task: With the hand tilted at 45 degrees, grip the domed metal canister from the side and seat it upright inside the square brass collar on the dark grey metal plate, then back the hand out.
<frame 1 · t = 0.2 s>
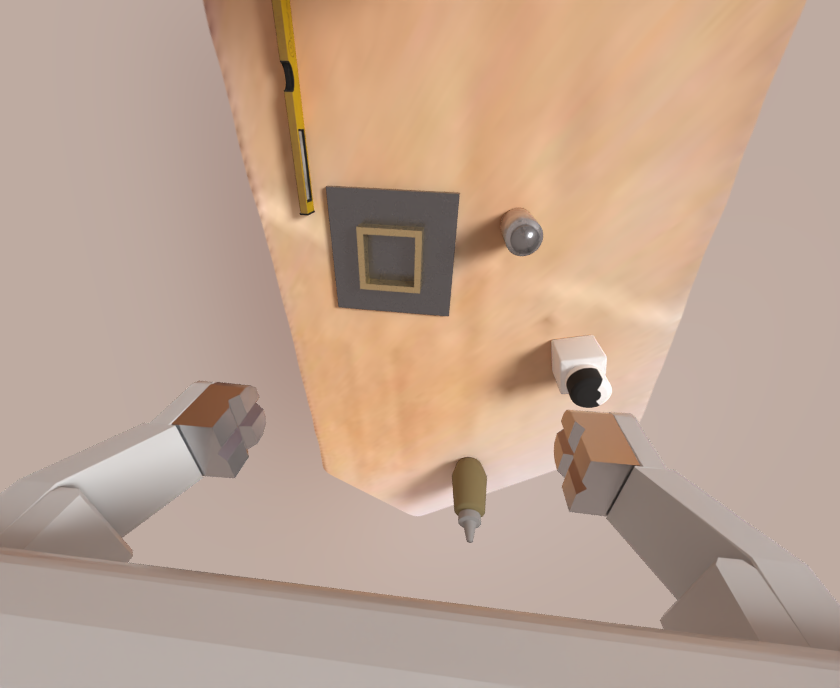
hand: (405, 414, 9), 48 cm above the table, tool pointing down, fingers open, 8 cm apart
collar plate: (393, 254, 56), on the table
domed metal canister: (516, 224, 51), on the table
spirit level: (296, 79, 45), on the table
medicine bottle: (571, 352, 62), on the table
squeeze bottle: (469, 464, 81), on the table
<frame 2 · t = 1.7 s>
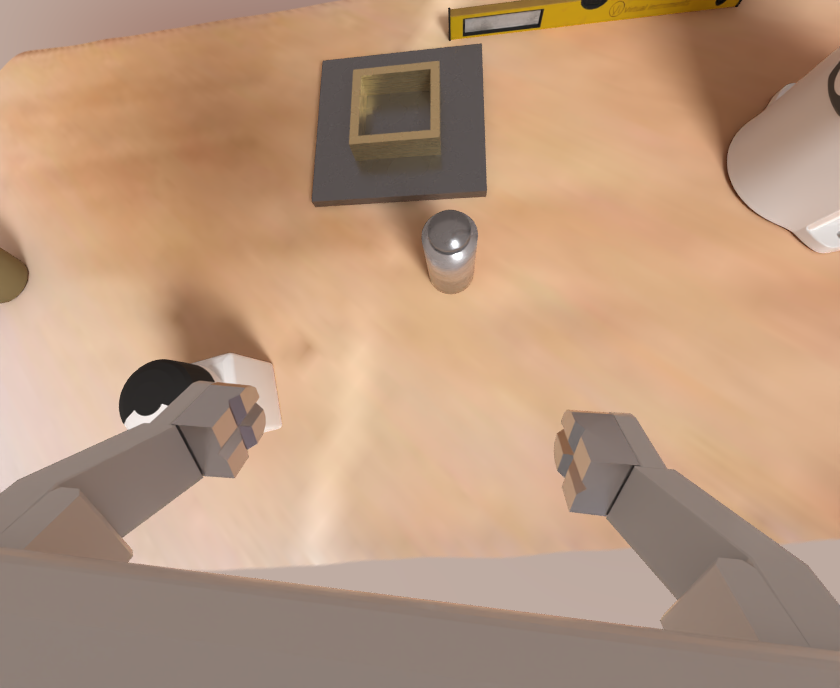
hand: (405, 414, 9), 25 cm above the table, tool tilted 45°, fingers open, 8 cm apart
collar plate: (399, 127, 41), on the table
domed metal canister: (451, 273, 37), on the table
spirit level: (585, 24, 42), on the table
medicine bottle: (248, 402, 37), on the table
squeeze bottle: (11, 282, 43), on the table
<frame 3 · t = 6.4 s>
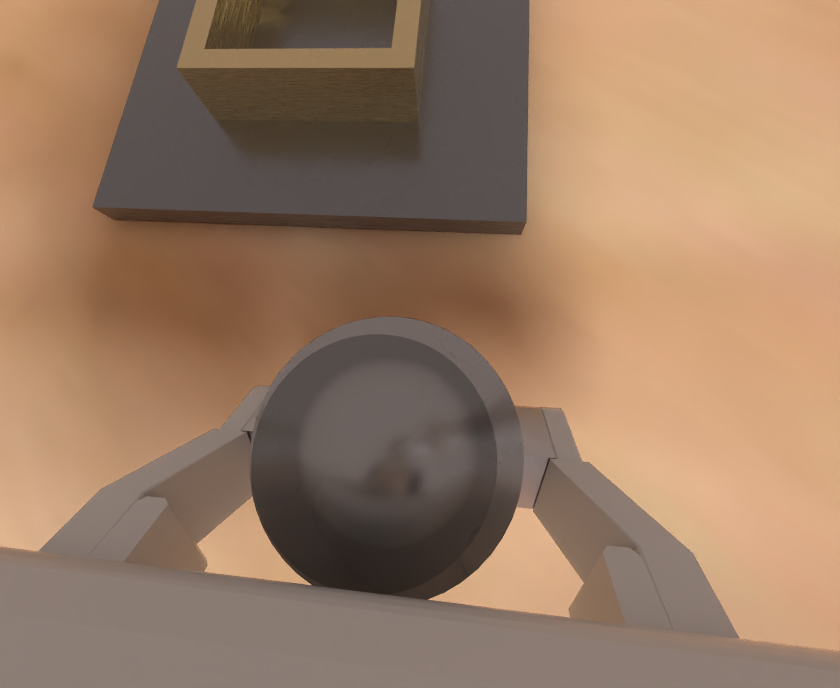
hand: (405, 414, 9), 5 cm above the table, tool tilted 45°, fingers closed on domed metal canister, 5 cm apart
collar plate: (334, 59, 18), on the table
domed metal canister: (416, 432, 14), on the table, touching gripper
when the fingers open (7 cm above the table, at t = 13.6 s): domed metal canister drops 1 cm, resting on collar plate.
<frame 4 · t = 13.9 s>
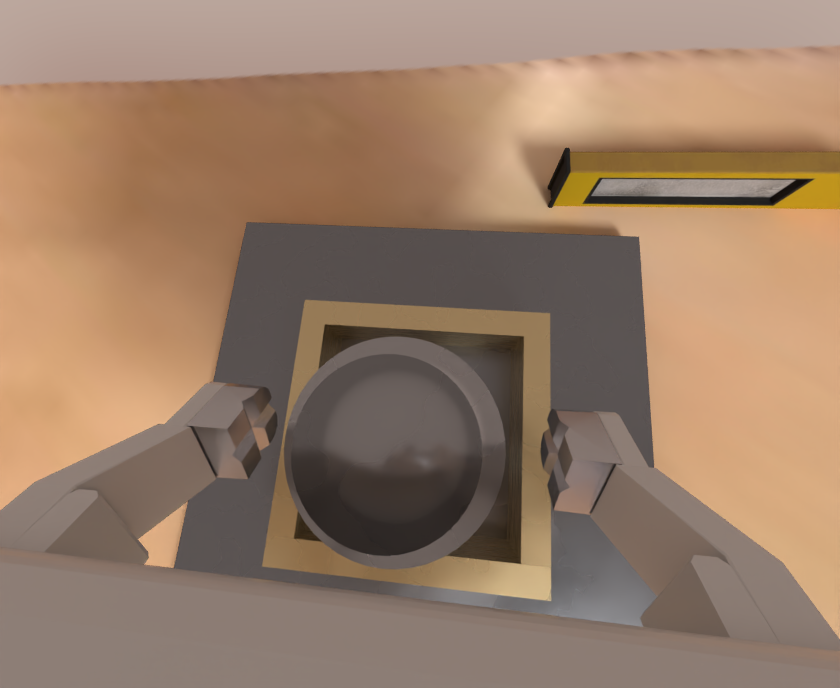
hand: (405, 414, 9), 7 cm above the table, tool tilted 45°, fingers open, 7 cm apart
collar plate: (419, 430, 16), on the table
domed metal canister: (418, 431, 15), point 1 cm above the table, touching collar plate
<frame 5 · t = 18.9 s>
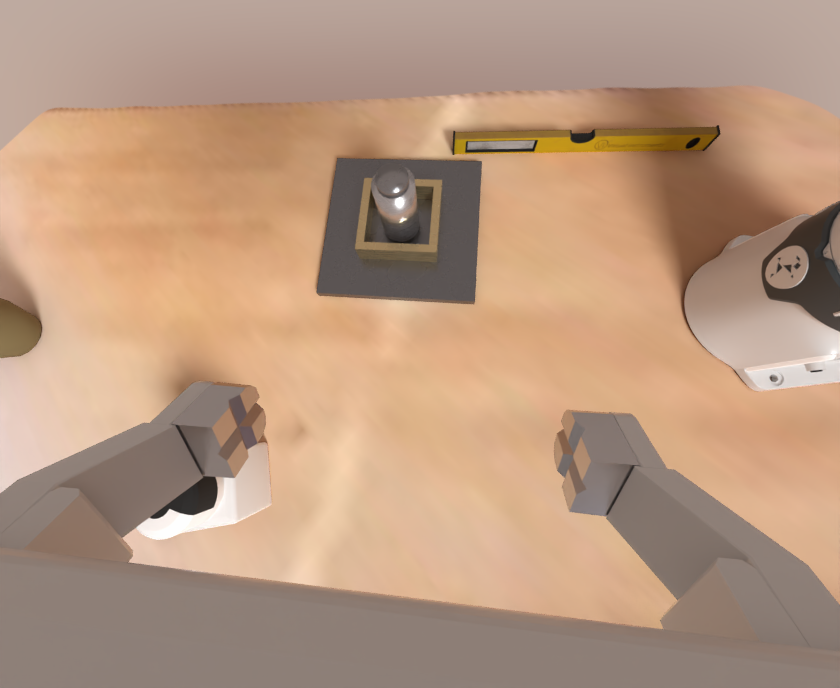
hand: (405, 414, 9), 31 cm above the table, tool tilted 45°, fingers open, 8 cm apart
collar plate: (402, 229, 45), on the table
domed metal canister: (401, 225, 44), point 1 cm above the table, touching collar plate
spirit level: (573, 151, 47), on the table
medicine bottle: (242, 477, 40), on the table
squeeze bottle: (24, 336, 46), on the table
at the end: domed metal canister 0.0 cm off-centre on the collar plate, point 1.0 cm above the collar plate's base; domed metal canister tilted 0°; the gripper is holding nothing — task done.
